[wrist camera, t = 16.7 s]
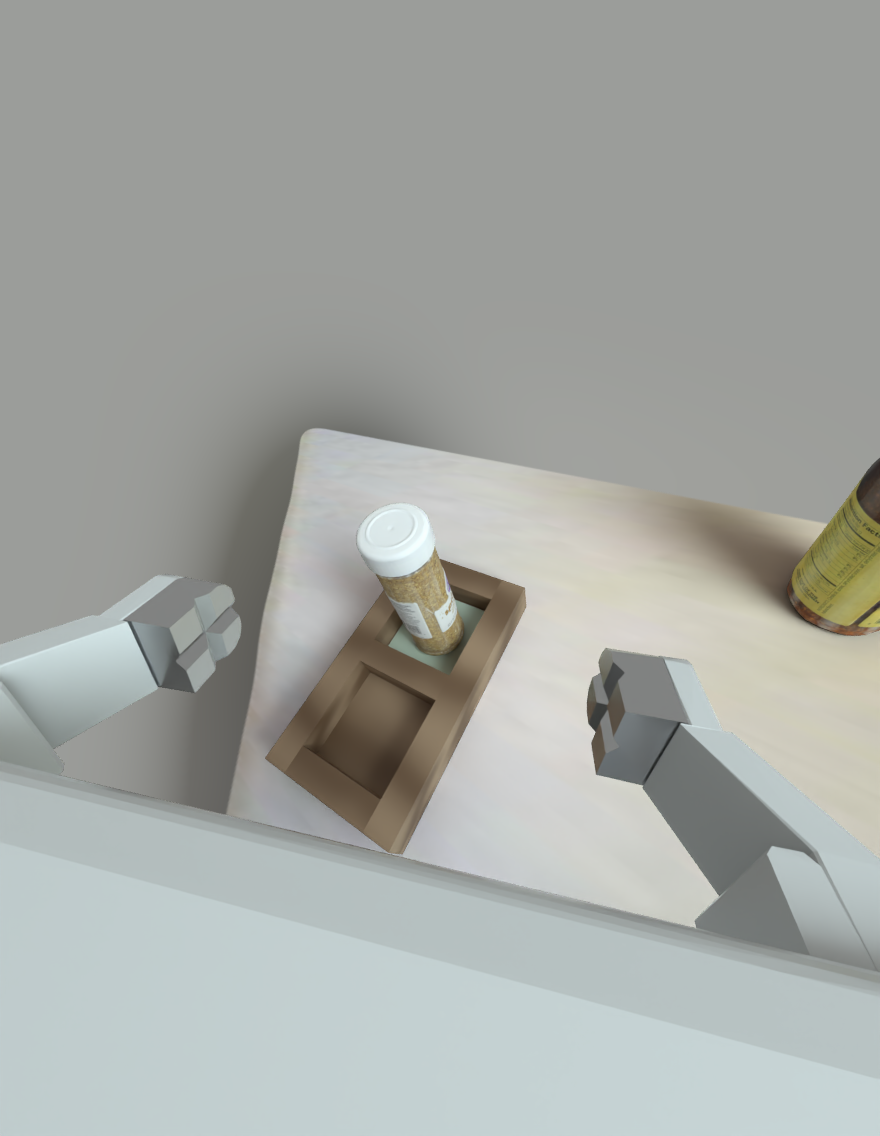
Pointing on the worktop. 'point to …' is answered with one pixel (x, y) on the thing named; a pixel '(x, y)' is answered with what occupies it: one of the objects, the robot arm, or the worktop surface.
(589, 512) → the worktop surface
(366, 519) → the sprinkles bottle
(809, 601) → the sauce bottle
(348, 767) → the spice caddy
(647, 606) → the worktop surface
